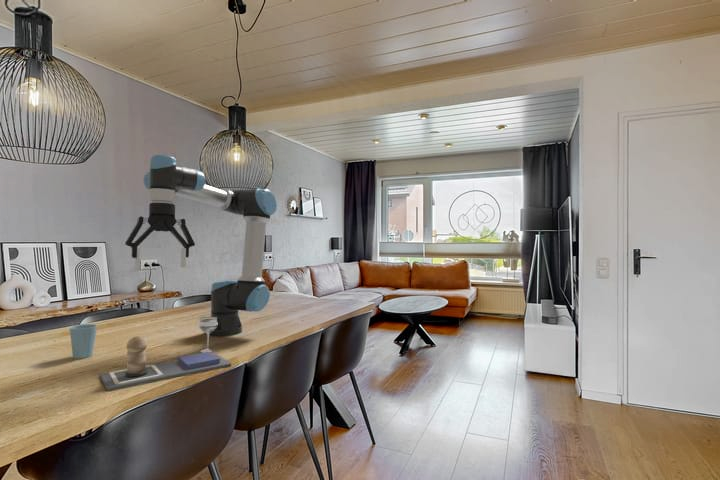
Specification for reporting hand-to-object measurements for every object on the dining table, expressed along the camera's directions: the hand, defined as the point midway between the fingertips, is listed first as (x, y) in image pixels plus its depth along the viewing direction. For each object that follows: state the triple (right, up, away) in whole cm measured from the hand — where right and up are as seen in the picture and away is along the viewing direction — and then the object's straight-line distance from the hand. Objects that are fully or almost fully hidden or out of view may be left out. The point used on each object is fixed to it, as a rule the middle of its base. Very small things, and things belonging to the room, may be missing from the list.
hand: (161, 267), depth 123 cm
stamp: (-1, -31, -12) cm, 33 cm away
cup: (-31, -32, +7) cm, 45 cm away
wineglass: (+8, -32, +17) cm, 37 cm away
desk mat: (+6, -32, -6) cm, 33 cm away
